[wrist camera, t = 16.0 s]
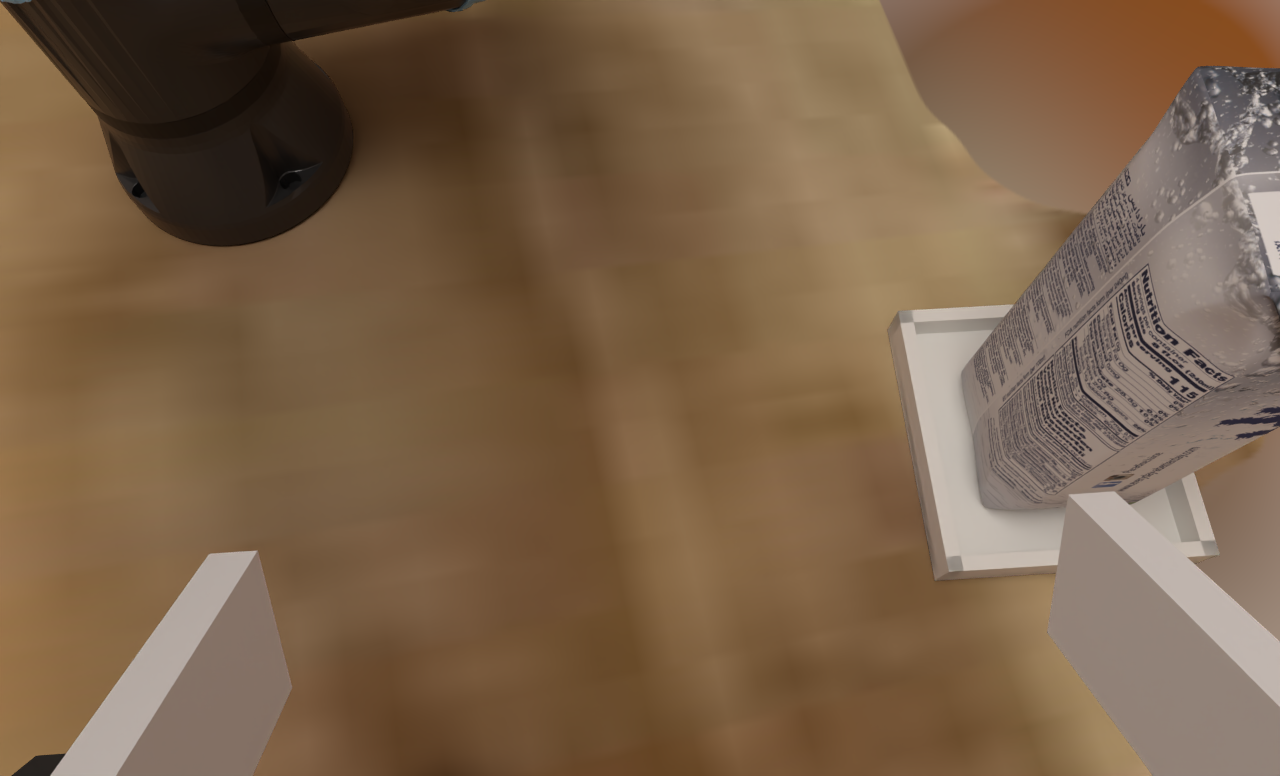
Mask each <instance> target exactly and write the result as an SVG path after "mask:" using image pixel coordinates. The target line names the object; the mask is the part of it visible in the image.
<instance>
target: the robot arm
mask: <svg viewBox="0 0 1280 776" xmlns="http://www.w3.org/2000/svg"><path fill="white" fill-rule="evenodd" d="M481 1H485V0H0V2H1V3H2V4H3V6H4V7H5V8H6V9H7V10H8V11H9V13H10V14H11V15H12V16H13V17H14V18H15V20H16V21H17V22H18V23H19V24H20V25H21V27H22V28H23V29H24V30H25V31H26V32H27V34H28V35H29V36H30V37H31V38H32V39H33V41H34V42H35V43H36V44H37V45H38V47H39V48H40V49H41V50H42V51H43V52H44V54H45V55H46V56H47V57H48V58H49V59H50V61H51V62H52V63H53V64H54V65H55V66H56V68H57V69H58V70H59V71H60V72H61V73H62V75H63V76H64V77H65V78H66V79H67V80H68V82H69V83H70V84H71V85H72V86H73V87H74V89H75V90H76V91H77V92H78V93H79V94H80V96H81V97H82V98H83V99H84V100H85V101H86V102H87V103H88V105H89V106H90V107H91V108H92V109H93V111H94V112H95V113H96V114H97V116H98V119H99V122H100V125H101V128H102V131H103V135H104V138H105V141H106V144H107V147H108V151H109V154H110V157H111V160H112V163H113V166H114V170H115V173H116V175H117V178H118V180H119V182H120V184H121V185H122V187H123V189H124V190H125V192H126V193H127V195H128V196H129V197H130V199H131V200H132V201H133V202H134V203H135V204H136V205H137V206H138V207H139V209H140V210H141V211H142V212H143V213H144V214H145V215H146V216H147V217H148V219H150V220H151V221H152V222H153V223H154V224H155V225H157V226H158V227H159V228H161V229H162V230H164V231H165V232H167V233H169V234H171V235H173V236H176V237H178V238H180V239H183V240H186V241H190V242H194V243H199V244H206V245H238V244H245V243H250V242H255V241H258V240H262V239H265V238H268V237H271V236H274V235H276V234H279V233H281V232H283V231H285V230H287V229H289V228H291V227H293V226H295V225H297V224H298V223H300V222H301V221H303V220H304V219H306V218H307V217H308V216H310V215H311V214H312V213H314V212H315V211H316V210H317V209H318V208H319V207H320V206H321V205H323V204H324V203H325V201H326V200H327V199H328V198H329V197H330V196H331V195H332V193H333V192H334V191H335V189H336V188H337V186H338V185H339V183H340V182H341V180H342V178H343V176H344V174H345V172H346V170H347V167H348V165H349V162H350V158H351V154H352V148H353V130H352V124H351V120H350V117H349V114H348V112H347V110H346V107H345V105H344V103H343V101H342V99H341V97H340V94H339V92H338V90H337V88H336V87H335V85H334V83H333V82H332V81H331V79H330V78H329V76H328V75H327V74H326V73H325V72H324V71H323V70H322V69H321V68H320V67H319V66H318V65H317V64H316V63H314V62H313V61H312V60H310V59H309V58H308V57H307V56H306V55H305V54H304V53H303V52H302V51H301V50H300V49H299V48H298V47H297V46H296V45H295V44H294V43H293V42H292V41H295V40H299V39H304V38H309V37H314V36H319V35H324V34H329V33H334V32H339V31H344V30H349V29H354V28H359V27H364V26H369V25H374V24H379V23H384V22H389V21H394V20H399V19H404V18H409V17H414V16H419V15H424V14H429V13H434V12H439V11H444V10H445V11H449V12H456V11H462V10H463V9H467V8H469V7H470V6H472V5H473V4H474V3H477V2H481ZM1047 633H1048V634H1049V636H1050V637H1051V638H1052V640H1053V641H1054V642H1055V644H1056V645H1057V646H1058V648H1059V649H1060V650H1061V652H1062V653H1063V655H1064V656H1065V657H1066V659H1067V660H1068V661H1069V663H1070V664H1071V665H1072V667H1073V668H1074V669H1075V671H1076V672H1077V673H1078V675H1079V676H1080V678H1081V679H1082V680H1083V682H1084V683H1085V684H1086V686H1087V687H1088V688H1089V690H1090V691H1091V692H1092V694H1093V695H1094V697H1095V698H1096V699H1097V701H1098V702H1099V703H1100V705H1101V706H1102V707H1103V709H1104V710H1105V711H1106V713H1107V714H1108V715H1109V717H1110V718H1111V720H1112V721H1113V722H1114V724H1115V725H1116V726H1117V728H1118V729H1119V730H1120V732H1121V733H1122V734H1123V736H1124V737H1125V738H1126V740H1127V741H1128V743H1129V744H1130V745H1131V747H1132V748H1133V749H1134V751H1135V752H1136V753H1137V755H1138V756H1139V757H1140V759H1141V760H1142V762H1143V763H1144V764H1145V766H1146V767H1147V768H1148V770H1149V771H1150V772H1151V774H1152V775H1153V776H1280V641H1278V640H1277V639H1276V638H1275V637H1274V636H1273V635H1272V634H1271V633H1270V632H1269V631H1268V630H1266V629H1265V628H1264V627H1263V626H1262V625H1261V624H1260V623H1258V621H1256V620H1255V619H1254V618H1253V617H1252V616H1251V615H1250V614H1249V613H1248V612H1246V611H1245V610H1244V609H1243V608H1242V607H1241V606H1240V605H1239V604H1238V603H1237V602H1236V601H1234V600H1233V599H1232V598H1231V597H1230V596H1229V595H1228V594H1227V593H1226V592H1224V591H1223V590H1222V589H1221V588H1220V587H1219V586H1218V585H1217V584H1216V583H1215V582H1214V581H1212V580H1211V579H1210V578H1209V577H1208V576H1207V575H1206V574H1205V573H1204V572H1203V571H1201V570H1200V569H1199V568H1198V567H1197V566H1196V565H1195V564H1194V563H1193V562H1192V561H1190V560H1189V559H1188V558H1187V557H1186V556H1185V555H1184V554H1183V553H1182V552H1181V551H1179V550H1178V549H1177V548H1176V547H1175V546H1174V545H1173V544H1172V543H1171V542H1170V541H1168V540H1167V539H1166V538H1165V537H1164V536H1163V535H1162V534H1161V533H1160V532H1159V531H1157V530H1156V529H1155V528H1154V527H1153V526H1152V525H1151V524H1150V523H1149V522H1148V521H1146V520H1145V519H1144V518H1143V517H1142V516H1141V515H1140V514H1139V513H1138V512H1137V511H1135V510H1134V509H1133V508H1132V507H1131V506H1130V505H1129V504H1128V503H1127V502H1126V501H1124V500H1123V499H1122V498H1121V497H1120V496H1119V495H1118V494H1117V493H1116V492H1115V491H1112V492H1098V493H1083V494H1069V495H1068V499H1067V506H1066V512H1065V519H1064V526H1063V532H1062V539H1061V545H1060V552H1059V559H1058V565H1057V572H1056V578H1055V585H1054V591H1053V598H1052V605H1051V611H1050V618H1049V624H1048V631H1047ZM291 689H292V685H291V681H290V677H289V673H288V669H287V665H286V661H285V657H284V653H283V649H282V645H281V641H280V637H279V633H278V629H277V625H276V621H275V617H274V613H273V609H272V605H271V601H270V597H269V593H268V589H267V585H266V581H265V577H264V574H263V570H262V566H261V562H260V558H259V554H258V551H244V552H230V553H215V554H209V555H208V556H207V558H206V559H205V561H204V562H203V563H202V565H201V566H200V568H199V569H198V570H197V572H196V573H195V575H194V576H193V577H192V579H191V580H190V581H189V583H188V584H187V586H186V587H185V588H184V590H183V591H182V593H181V594H180V595H179V597H178V598H177V600H176V601H175V602H174V604H173V605H172V607H171V608H170V609H169V611H168V612H167V614H166V615H165V616H164V618H163V619H162V621H161V622H160V623H159V625H158V626H157V628H156V629H155V630H154V632H153V633H152V635H151V636H150V637H149V639H148V640H147V641H146V643H145V644H144V646H143V647H142V648H141V650H140V651H139V653H138V654H137V655H136V657H135V658H134V660H133V661H132V662H131V664H130V665H129V667H128V668H127V669H126V671H125V672H124V674H123V675H122V676H121V678H120V679H119V681H118V682H117V683H116V685H115V686H114V688H113V689H112V690H111V692H110V693H109V694H108V696H107V697H106V699H105V700H104V701H103V703H102V704H101V706H100V707H99V708H98V710H97V711H96V713H95V714H94V715H93V717H92V718H91V720H90V721H89V722H88V724H87V725H86V727H85V728H84V729H83V731H82V732H81V734H80V735H79V736H78V738H77V739H76V741H75V742H74V743H73V745H72V746H71V748H70V749H69V750H68V752H67V753H66V754H54V755H41V756H35V757H34V758H33V759H32V760H30V761H29V762H28V763H27V764H25V765H24V766H23V767H22V768H20V769H19V770H18V771H17V772H15V773H14V774H13V775H12V776H253V774H254V772H255V769H256V767H257V765H258V763H259V760H260V758H261V756H262V754H263V751H264V749H265V747H266V745H267V743H268V740H269V738H270V736H271V734H272V731H273V729H274V727H275V725H276V723H277V720H278V718H279V716H280V714H281V711H282V709H283V707H284V705H285V703H286V700H287V698H288V696H289V694H290V691H291Z"/></svg>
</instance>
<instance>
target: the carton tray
mask: <svg viewBox="0 0 1280 776" xmlns="http://www.w3.org/2000/svg"><path fill="white" fill-rule="evenodd" d="M1012 307H1013V305H996V306H978V307H960V308H943V309H925V310H907V311H898V312H897V314H896V316H895V317H894V319H893V321H892V323H891V325H890V326H889V328H888V334H889V340H890V345H891V350H892V356H893V361H894V366H895V372H896V377H897V382H898V388H899V393H900V398H901V404H902V409H903V414H904V420H905V425H906V430H907V436H908V441H909V446H910V452H911V457H912V462H913V468H914V473H915V478H916V484H917V489H918V494H919V500H920V505H921V510H922V516H923V521H924V526H925V531H926V537H927V542H928V547H929V553H930V558H931V563H932V569H933V574H934V579H935V581H938V580H954V579H970V578H986V577H1002V576H1018V575H1034V574H1049V573H1056V572H1057V565H1058V559H1059V552H1060V545H1061V539H1062V532H1063V526H1064V519H1065V512H1066V508H1049V509H1023V510H1007V509H991V508H987V507H985V506H984V505H983V502H982V499H981V494H980V488H979V482H978V475H977V467H976V457H975V449H974V441H973V435H972V430H971V425H970V420H969V416H968V412H967V408H966V403H965V398H964V392H963V386H962V378H961V372H962V370H963V369H964V367H965V366H966V364H967V363H968V362H969V360H970V359H971V358H972V357H973V355H974V354H975V353H976V352H977V350H978V349H979V348H980V347H981V345H982V344H983V343H984V341H985V340H986V339H987V338H988V336H989V335H990V334H991V333H992V331H993V330H994V329H995V328H996V327H997V325H998V324H999V323H1000V322H1001V320H1002V319H1003V318H1004V317H1005V315H1006V314H1007V313H1008V312H1009V310H1010V309H1011V308H1012ZM1130 506H1131V507H1132V508H1133V509H1134V510H1135V511H1137V512H1138V513H1139V514H1140V515H1141V516H1142V517H1143V518H1144V519H1145V520H1146V521H1148V522H1149V523H1150V524H1151V525H1152V526H1153V527H1154V528H1155V529H1156V530H1157V531H1159V532H1160V533H1161V534H1162V535H1163V536H1164V537H1165V538H1166V539H1167V540H1168V541H1170V542H1171V543H1172V544H1173V545H1174V546H1175V547H1176V548H1177V549H1178V550H1179V551H1181V552H1182V553H1183V554H1184V555H1185V556H1186V557H1187V558H1188V559H1189V560H1190V561H1192V562H1193V563H1194V564H1196V563H1199V562H1201V561H1204V560H1207V559H1210V558H1213V557H1215V556H1218V555H1220V554H1219V550H1218V547H1217V544H1216V541H1215V538H1214V535H1213V531H1212V528H1211V525H1210V522H1209V519H1208V515H1207V512H1206V509H1205V506H1204V503H1203V499H1202V496H1201V493H1200V490H1199V487H1198V484H1197V480H1196V477H1195V474H1194V472H1193V473H1191V474H1189V475H1187V476H1186V477H1184V478H1182V479H1180V480H1178V481H1176V482H1174V483H1172V484H1170V485H1169V486H1167V487H1165V488H1163V489H1161V490H1159V491H1157V492H1155V493H1153V494H1151V495H1149V496H1148V497H1146V498H1144V499H1142V500H1140V501H1138V502H1136V503H1133V504H1131V505H1130Z"/></svg>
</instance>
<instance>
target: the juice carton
mask: <svg viewBox="0 0 1280 776" xmlns="http://www.w3.org/2000/svg"><path fill="white" fill-rule="evenodd" d="M961 378H962V386H963V392H964V398H965V403H966V408H967V412H968V416H969V420H970V425H971V430H972V435H973V441H974V449H975V457H976V467H977V475H978V482H979V488H980V494H981V499H982V502H983V505H984V506H985V507H987V508H991V509H1007V510H1023V509H1049V508H1066V506H1067V499H1068V495H1069V494H1083V493H1098V492H1112V491H1115V492H1116V493H1117V494H1118V495H1119V496H1120V497H1121V498H1122V499H1123V500H1124V501H1126V502H1127V503H1128V504H1129V505H1131V504H1133V503H1136V502H1138V501H1140V500H1142V499H1144V498H1146V497H1148V496H1149V495H1151V494H1153V493H1155V492H1157V491H1159V490H1161V489H1163V488H1165V487H1167V486H1169V485H1170V484H1172V483H1174V482H1176V481H1178V480H1180V479H1182V478H1184V477H1186V476H1187V475H1189V474H1191V473H1193V472H1195V471H1197V470H1199V469H1201V468H1203V467H1204V466H1206V465H1208V464H1210V463H1212V462H1214V461H1216V460H1218V459H1220V458H1221V457H1223V456H1225V455H1227V454H1229V453H1231V452H1233V451H1235V450H1237V449H1238V448H1240V447H1242V446H1244V445H1246V444H1248V443H1250V442H1252V441H1254V440H1255V439H1257V438H1259V437H1261V436H1263V435H1265V434H1267V433H1269V432H1270V431H1272V430H1274V429H1276V428H1278V427H1280V68H1247V67H1227V66H1201V67H1197V68H1196V69H1195V70H1194V72H1193V73H1192V74H1191V76H1190V77H1189V78H1188V80H1187V81H1186V83H1185V84H1184V85H1183V87H1182V88H1181V90H1180V91H1179V93H1178V94H1177V96H1176V97H1175V99H1174V101H1173V102H1172V104H1171V105H1170V107H1169V109H1168V110H1167V112H1166V113H1165V115H1164V116H1163V118H1162V120H1161V121H1160V123H1159V124H1158V126H1157V127H1156V129H1155V130H1154V132H1153V133H1152V135H1151V136H1150V137H1149V138H1148V140H1147V141H1146V142H1145V143H1144V145H1143V146H1142V147H1141V148H1140V149H1139V151H1138V152H1137V153H1136V155H1135V156H1134V157H1133V158H1132V159H1131V161H1130V162H1129V163H1128V164H1127V166H1126V167H1125V168H1124V169H1123V170H1122V172H1121V173H1120V174H1119V175H1118V177H1117V178H1116V179H1115V180H1114V182H1113V183H1112V184H1111V185H1110V187H1109V188H1108V189H1107V190H1106V192H1105V193H1104V194H1103V195H1102V196H1101V198H1100V199H1099V200H1098V202H1097V203H1096V204H1095V205H1094V206H1093V208H1092V209H1091V210H1090V211H1089V213H1088V214H1087V215H1086V216H1085V218H1084V219H1083V220H1082V221H1081V222H1080V224H1079V225H1078V226H1077V227H1076V229H1075V230H1074V231H1073V232H1072V234H1071V235H1070V236H1069V237H1068V239H1067V240H1066V241H1065V242H1064V244H1063V245H1062V246H1061V247H1060V248H1059V250H1058V251H1057V252H1056V253H1055V255H1054V256H1053V257H1052V258H1051V260H1050V261H1049V262H1048V263H1047V265H1046V266H1045V267H1044V268H1043V270H1042V271H1041V272H1040V273H1039V274H1038V276H1037V277H1036V278H1035V279H1034V281H1033V282H1032V283H1031V284H1030V286H1029V287H1028V288H1027V289H1026V291H1025V292H1024V293H1023V294H1022V296H1021V297H1020V298H1019V299H1018V300H1017V302H1016V303H1015V304H1014V305H1013V307H1012V308H1011V309H1010V310H1009V312H1008V313H1007V314H1006V315H1005V317H1004V318H1003V319H1002V320H1001V322H1000V323H999V324H998V325H997V327H996V328H995V329H994V330H993V331H992V333H991V334H990V335H989V336H988V338H987V339H986V340H985V341H984V343H983V344H982V345H981V347H980V348H979V349H978V350H977V352H976V353H975V354H974V355H973V357H972V358H971V359H970V360H969V362H968V363H967V364H966V366H965V367H964V369H963V370H962V372H961Z"/></svg>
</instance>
